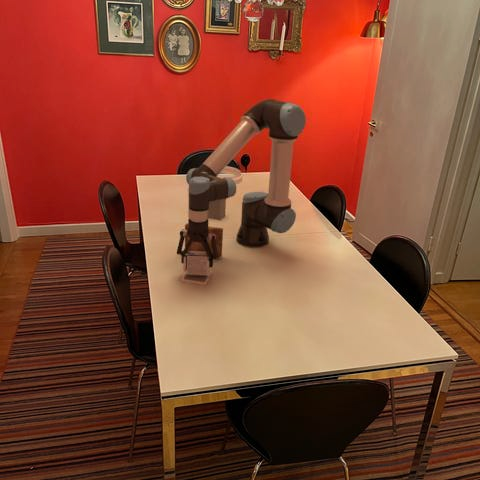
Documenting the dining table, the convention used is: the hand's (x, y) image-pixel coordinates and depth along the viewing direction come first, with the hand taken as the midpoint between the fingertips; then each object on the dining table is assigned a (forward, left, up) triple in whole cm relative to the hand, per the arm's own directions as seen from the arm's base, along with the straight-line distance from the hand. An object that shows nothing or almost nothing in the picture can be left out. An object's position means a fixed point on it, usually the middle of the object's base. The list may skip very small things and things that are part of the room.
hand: (197, 272), depth 183 cm
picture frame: (0, 0, -2) cm, 2 cm away
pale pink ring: (+21, -128, -3) cm, 130 cm away
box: (0, 0, 0) cm, 0 cm away
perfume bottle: (+8, -64, -2) cm, 65 cm away
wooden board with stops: (+3, -20, -2) cm, 20 cm away
